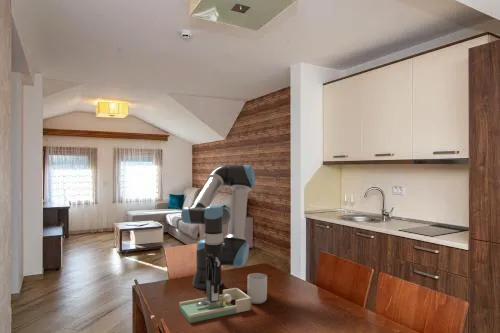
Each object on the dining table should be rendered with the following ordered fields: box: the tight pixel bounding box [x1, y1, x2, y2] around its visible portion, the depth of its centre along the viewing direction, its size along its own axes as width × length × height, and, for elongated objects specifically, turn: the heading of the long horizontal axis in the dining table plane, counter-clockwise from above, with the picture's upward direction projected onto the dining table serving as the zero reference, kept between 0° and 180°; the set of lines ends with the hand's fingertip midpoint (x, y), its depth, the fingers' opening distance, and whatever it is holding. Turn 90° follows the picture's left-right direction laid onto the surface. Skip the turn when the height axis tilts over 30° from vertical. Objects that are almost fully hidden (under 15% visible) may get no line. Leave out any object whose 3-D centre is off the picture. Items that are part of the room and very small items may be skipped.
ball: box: [223, 294, 232, 303], centre depth 145 cm, size 4×4×4 cm
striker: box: [196, 279, 226, 309], centre depth 141 cm, size 8×11×10 cm
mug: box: [246, 272, 268, 305], centre depth 154 cm, size 12×9×11 cm
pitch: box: [178, 287, 252, 324], centre depth 142 cm, size 14×27×5 cm, turn 118°
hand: (212, 298), depth 142 cm, fingers closed on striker, 4 cm apart
